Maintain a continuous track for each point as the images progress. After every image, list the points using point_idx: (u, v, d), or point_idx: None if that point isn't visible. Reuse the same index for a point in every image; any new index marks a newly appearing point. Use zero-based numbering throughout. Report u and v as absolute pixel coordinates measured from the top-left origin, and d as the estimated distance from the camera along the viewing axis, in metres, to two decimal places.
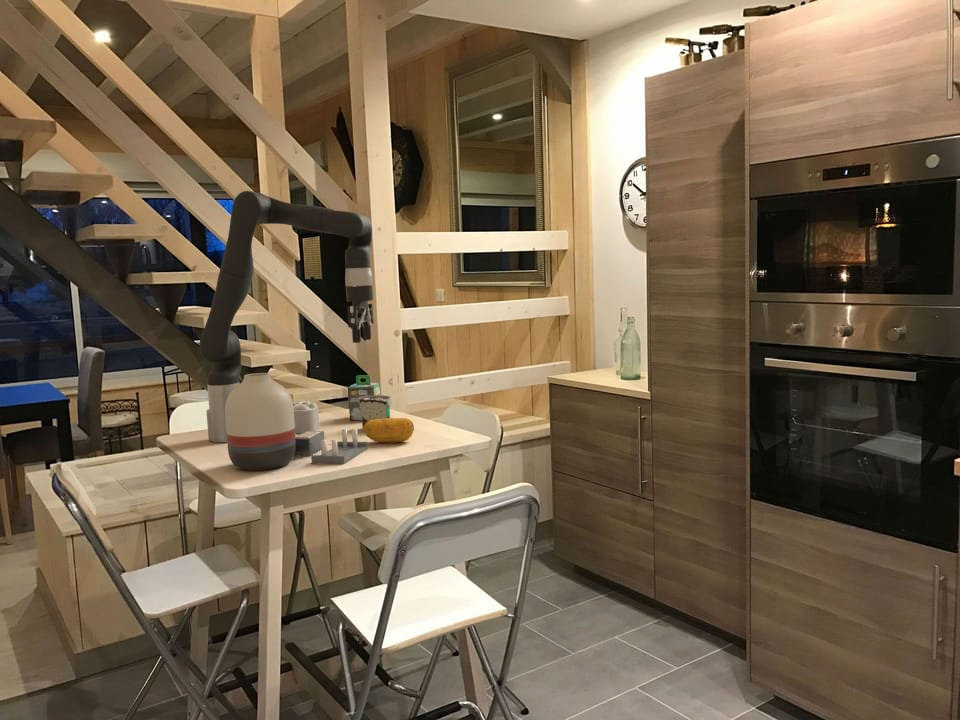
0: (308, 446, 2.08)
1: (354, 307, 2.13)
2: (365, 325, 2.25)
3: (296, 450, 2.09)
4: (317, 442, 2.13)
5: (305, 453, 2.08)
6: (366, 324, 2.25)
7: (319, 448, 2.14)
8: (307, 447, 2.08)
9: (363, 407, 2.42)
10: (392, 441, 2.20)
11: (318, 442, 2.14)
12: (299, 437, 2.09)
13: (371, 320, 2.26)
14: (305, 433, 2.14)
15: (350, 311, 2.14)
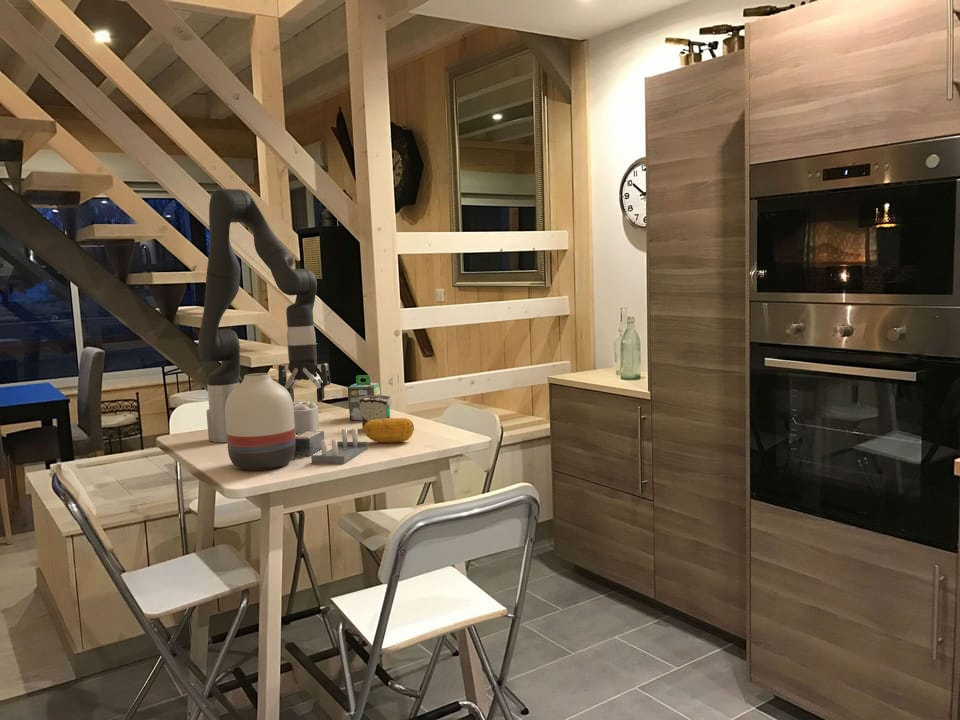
0: (308, 446, 2.08)
1: (327, 364, 2.10)
2: (290, 386, 2.12)
3: (296, 450, 2.09)
4: (317, 442, 2.13)
5: (305, 453, 2.08)
6: (290, 385, 2.12)
7: (319, 448, 2.14)
8: (307, 447, 2.08)
9: (363, 407, 2.42)
10: (392, 441, 2.20)
11: (318, 442, 2.14)
12: (299, 437, 2.09)
13: (286, 381, 2.13)
14: (305, 433, 2.14)
15: (326, 369, 2.09)
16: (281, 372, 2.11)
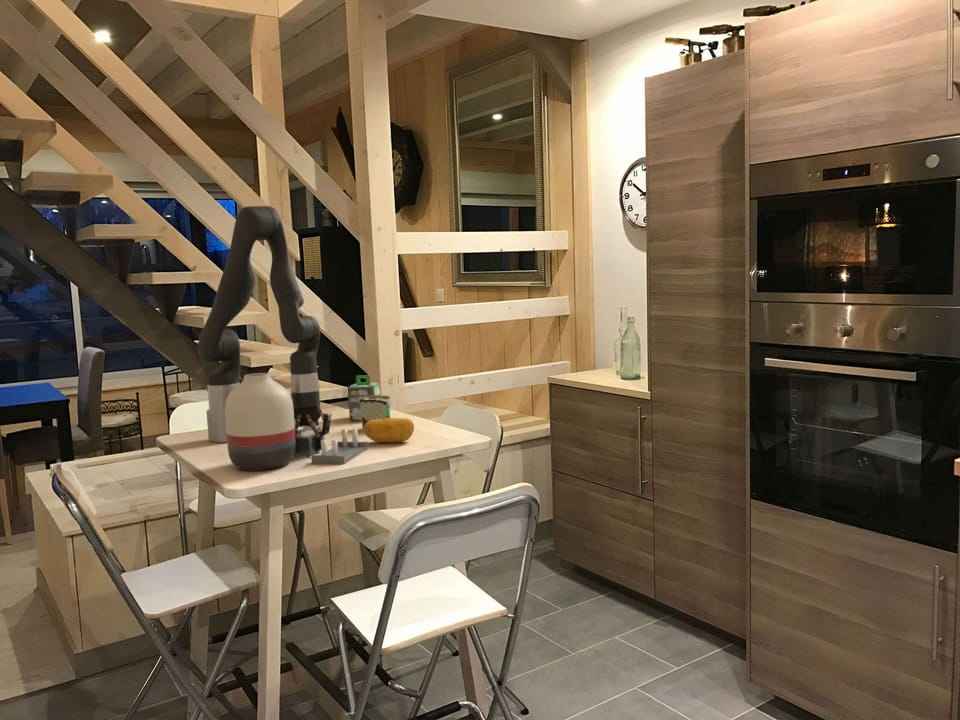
0: (308, 445, 2.08)
1: (330, 414, 2.12)
2: None
3: (296, 449, 2.09)
4: None
5: (305, 452, 2.08)
6: (298, 433, 2.13)
7: None
8: (307, 447, 2.08)
9: (363, 407, 2.42)
10: (392, 441, 2.20)
11: None
12: (299, 436, 2.09)
13: None
14: (305, 432, 2.14)
15: (328, 419, 2.11)
16: None
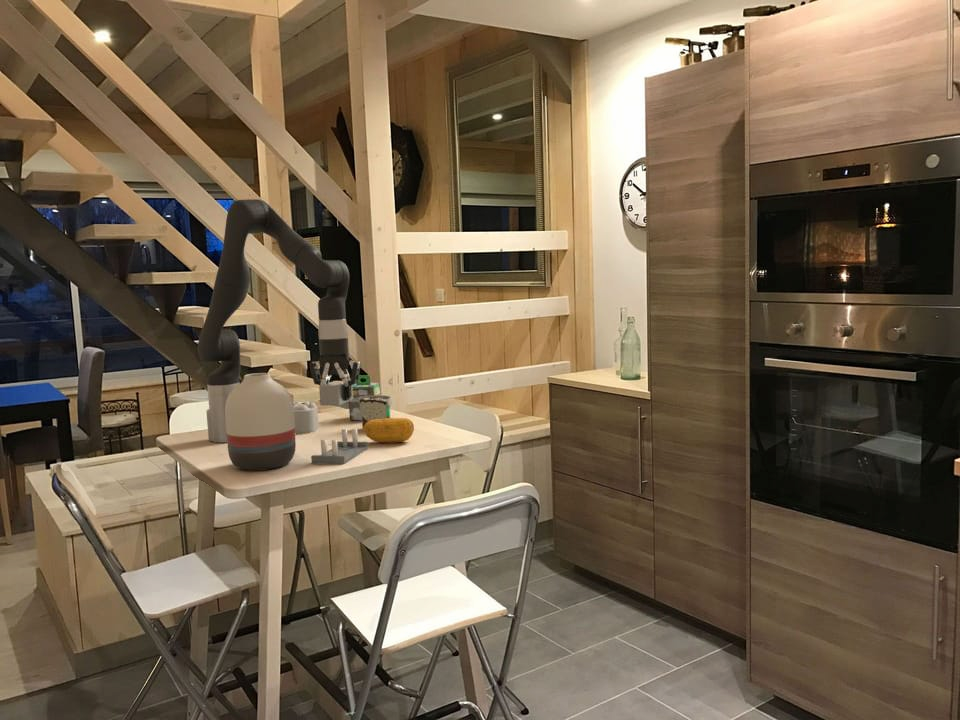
0: (337, 394, 2.00)
1: (360, 363, 2.04)
2: None
3: (324, 398, 2.01)
4: None
5: (333, 401, 2.00)
6: (326, 383, 2.06)
7: None
8: (335, 395, 2.00)
9: (363, 407, 2.42)
10: (392, 441, 2.20)
11: None
12: (327, 385, 2.02)
13: (321, 379, 2.07)
14: (333, 382, 2.06)
15: (358, 367, 2.03)
16: (313, 369, 2.05)
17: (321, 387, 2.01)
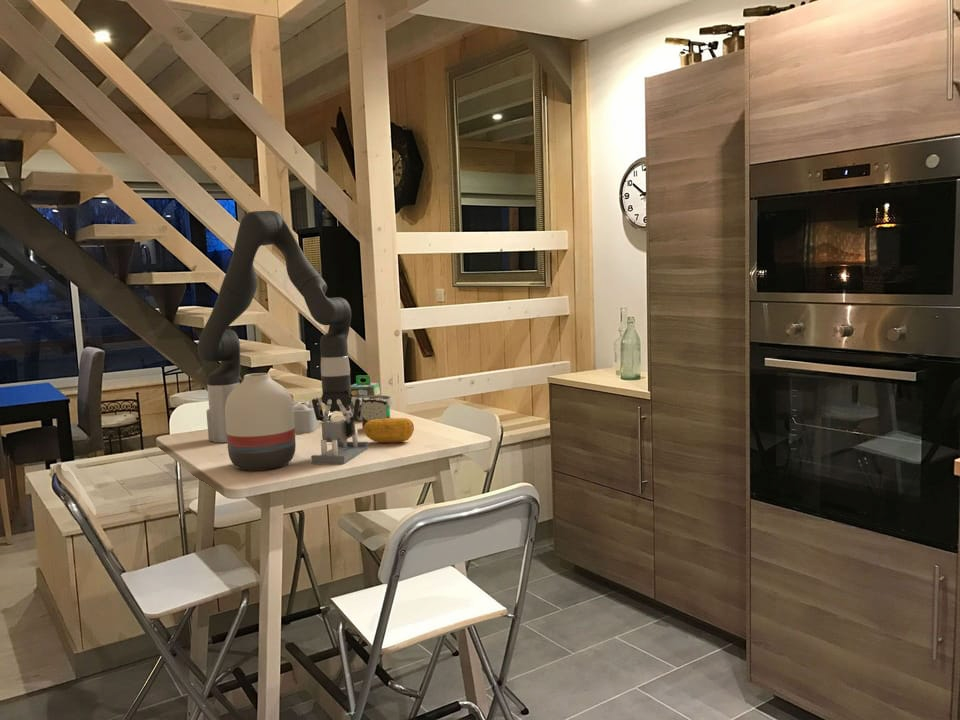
0: (339, 431, 2.01)
1: (362, 399, 2.05)
2: None
3: (327, 435, 2.02)
4: None
5: (335, 438, 2.01)
6: (328, 419, 2.07)
7: None
8: (338, 432, 2.01)
9: (363, 407, 2.42)
10: (392, 441, 2.20)
11: None
12: (330, 422, 2.03)
13: (323, 415, 2.08)
14: (335, 418, 2.07)
15: (360, 404, 2.04)
16: (316, 406, 2.06)
17: (323, 424, 2.02)
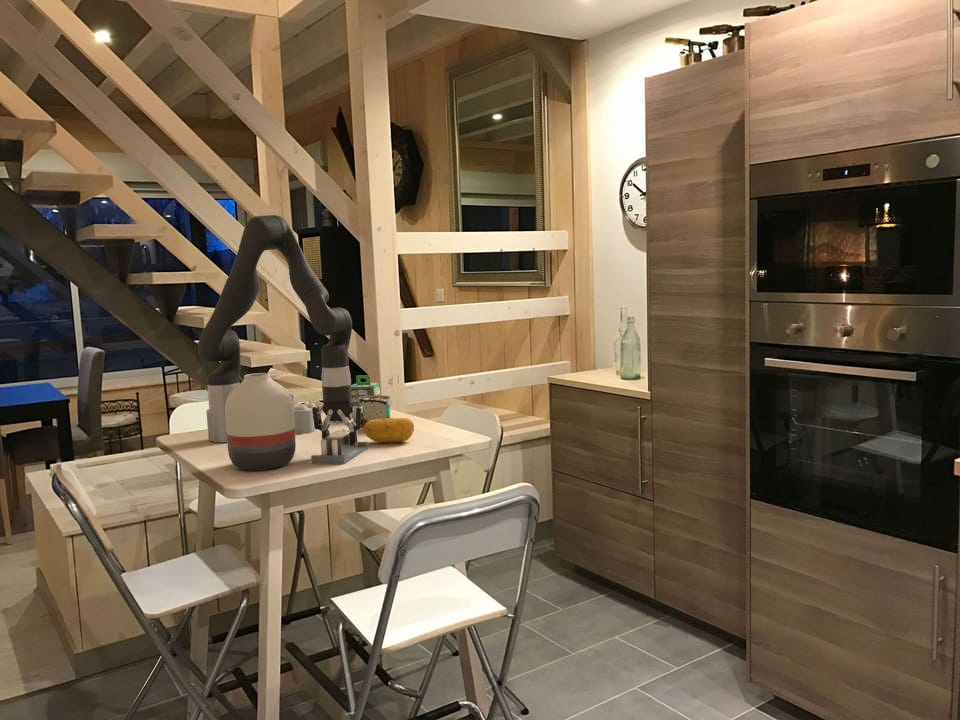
0: (340, 446, 2.01)
1: (362, 407, 2.05)
2: (326, 429, 2.07)
3: (327, 450, 2.02)
4: (349, 442, 2.06)
5: None
6: (326, 428, 2.07)
7: (350, 448, 2.08)
8: (338, 447, 2.02)
9: None
10: (392, 441, 2.20)
11: None
12: (330, 437, 2.03)
13: (321, 423, 2.08)
14: (336, 433, 2.08)
15: (361, 412, 2.04)
16: (316, 414, 2.06)
17: (324, 439, 2.02)
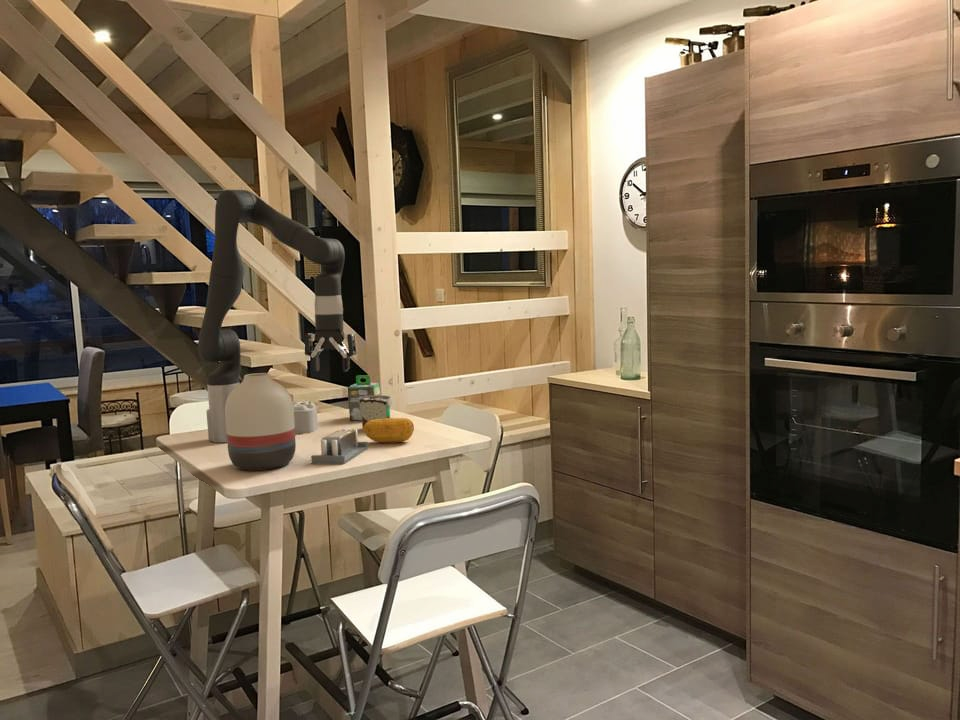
0: (340, 446, 2.01)
1: (353, 334, 2.11)
2: (316, 355, 2.13)
3: (327, 450, 2.02)
4: (349, 442, 2.06)
5: None
6: (316, 354, 2.14)
7: (350, 448, 2.08)
8: (338, 447, 2.02)
9: (363, 407, 2.42)
10: (392, 441, 2.20)
11: (350, 442, 2.07)
12: (330, 437, 2.03)
13: (312, 350, 2.15)
14: (336, 433, 2.08)
15: (352, 339, 2.10)
16: (307, 341, 2.12)
17: (324, 439, 2.02)
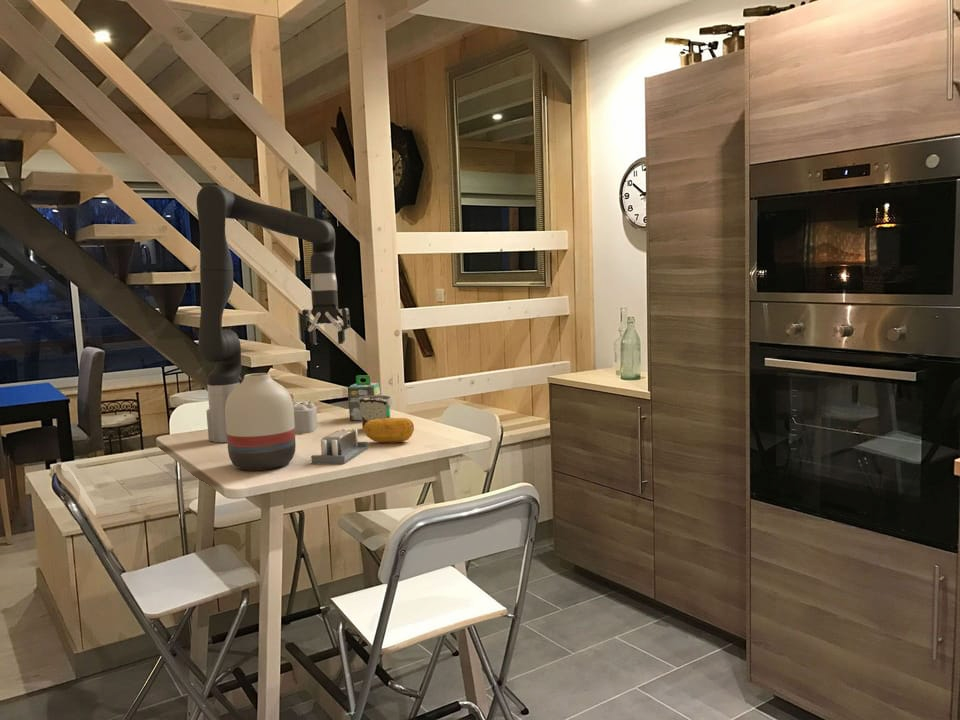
0: (340, 446, 2.01)
1: (348, 309, 2.27)
2: (313, 330, 2.29)
3: (327, 450, 2.02)
4: (349, 442, 2.06)
5: None
6: (313, 329, 2.29)
7: (350, 448, 2.08)
8: (338, 447, 2.02)
9: (363, 407, 2.42)
10: (392, 441, 2.20)
11: (350, 442, 2.07)
12: (330, 437, 2.03)
13: (309, 325, 2.31)
14: (336, 433, 2.08)
15: (347, 313, 2.26)
16: (305, 316, 2.28)
17: (324, 439, 2.02)
